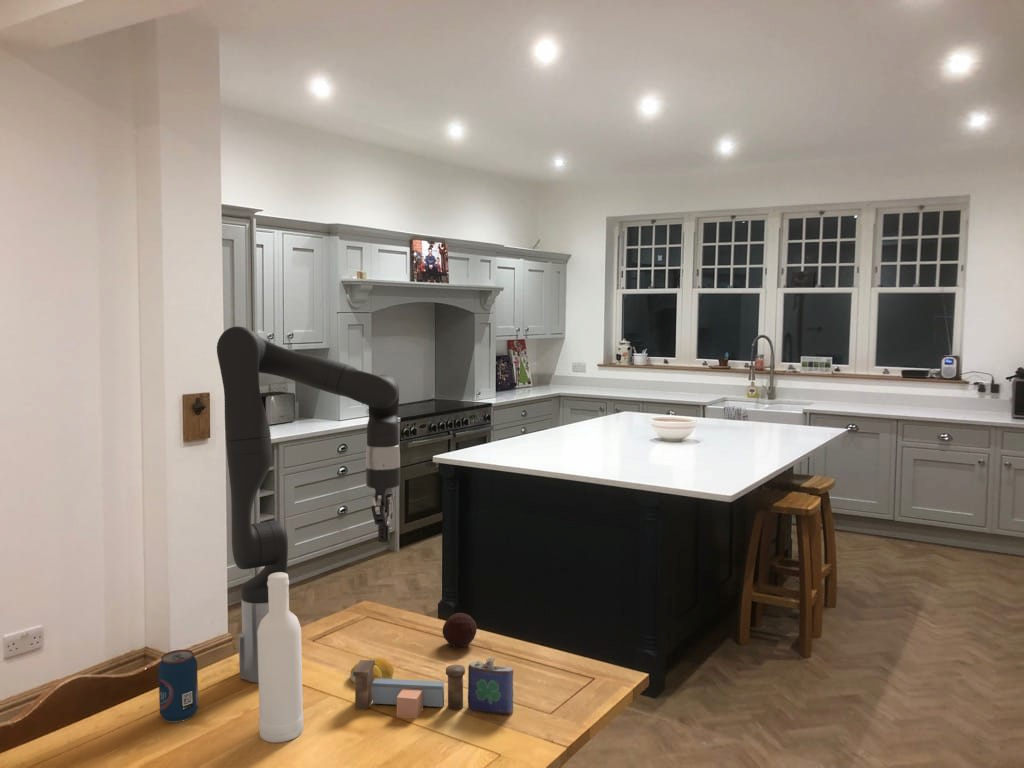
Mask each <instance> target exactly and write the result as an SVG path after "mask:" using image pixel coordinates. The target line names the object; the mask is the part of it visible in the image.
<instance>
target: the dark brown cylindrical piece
mask: <svg viewBox="0 0 1024 768" xmlns="http://www.w3.org/2000/svg"><path fill="white" fill-rule="evenodd" d="M465 673H466V668H465V666H464V665H461V664H450V665H449V666H447V667H445V675H446V676H447V709H448V710H450V711H453V712H454V711H460V710H462V709H463V708H464V675H465Z"/></svg>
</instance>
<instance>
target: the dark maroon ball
mask: <svg viewBox="0 0 1024 768" xmlns="http://www.w3.org/2000/svg"><path fill="white" fill-rule="evenodd" d="M477 628H478V627H477V624H476V621H475V620H474V619H473V618H472V616H471V615H469V614H467V613H466V612H465V613H464V612H456V613H454V614H452V615H451V616H449V617H448V619H446V621H445V622H444V625H442V636H443V638H444V639H445V641H446V642H447V644H449V645H450V646H453V647H455V648H463V647H466V646H467V645H470V644H471V643H472V642H473V641H474V639H475V637H476V634H477Z"/></svg>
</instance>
